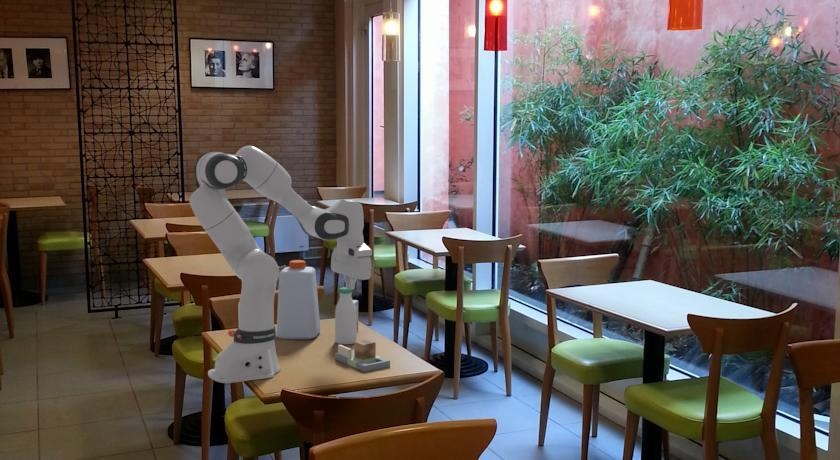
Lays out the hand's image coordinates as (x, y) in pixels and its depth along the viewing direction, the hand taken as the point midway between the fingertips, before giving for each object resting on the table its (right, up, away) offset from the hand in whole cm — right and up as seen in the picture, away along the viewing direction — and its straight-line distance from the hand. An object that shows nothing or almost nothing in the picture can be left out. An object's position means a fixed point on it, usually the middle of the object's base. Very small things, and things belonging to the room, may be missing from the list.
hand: (350, 288), depth 278 cm
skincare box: (-3, -19, +37) cm, 42 cm away
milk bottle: (-3, -21, +23) cm, 31 cm away
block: (+5, -22, -3) cm, 23 cm away
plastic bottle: (-22, -20, +33) cm, 44 cm away
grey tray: (+4, -24, -3) cm, 25 cm away
